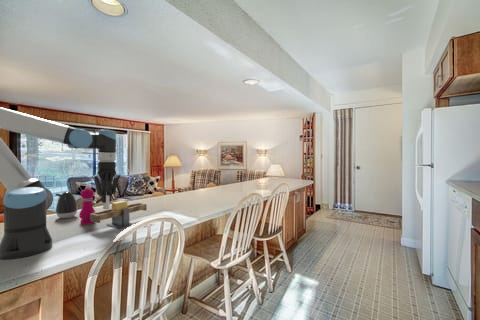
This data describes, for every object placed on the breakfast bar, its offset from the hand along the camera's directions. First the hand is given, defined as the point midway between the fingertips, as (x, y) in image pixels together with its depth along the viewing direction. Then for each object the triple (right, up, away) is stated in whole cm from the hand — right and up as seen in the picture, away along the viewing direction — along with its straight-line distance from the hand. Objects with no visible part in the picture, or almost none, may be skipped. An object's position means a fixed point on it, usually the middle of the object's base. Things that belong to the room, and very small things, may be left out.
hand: (106, 208), depth 111 cm
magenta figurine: (-16, -10, +10) cm, 21 cm away
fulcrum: (+4, -10, +6) cm, 12 cm away
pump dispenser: (-35, -10, +20) cm, 42 cm away
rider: (+4, -2, +6) cm, 7 cm away
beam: (+4, -5, +6) cm, 9 cm away
